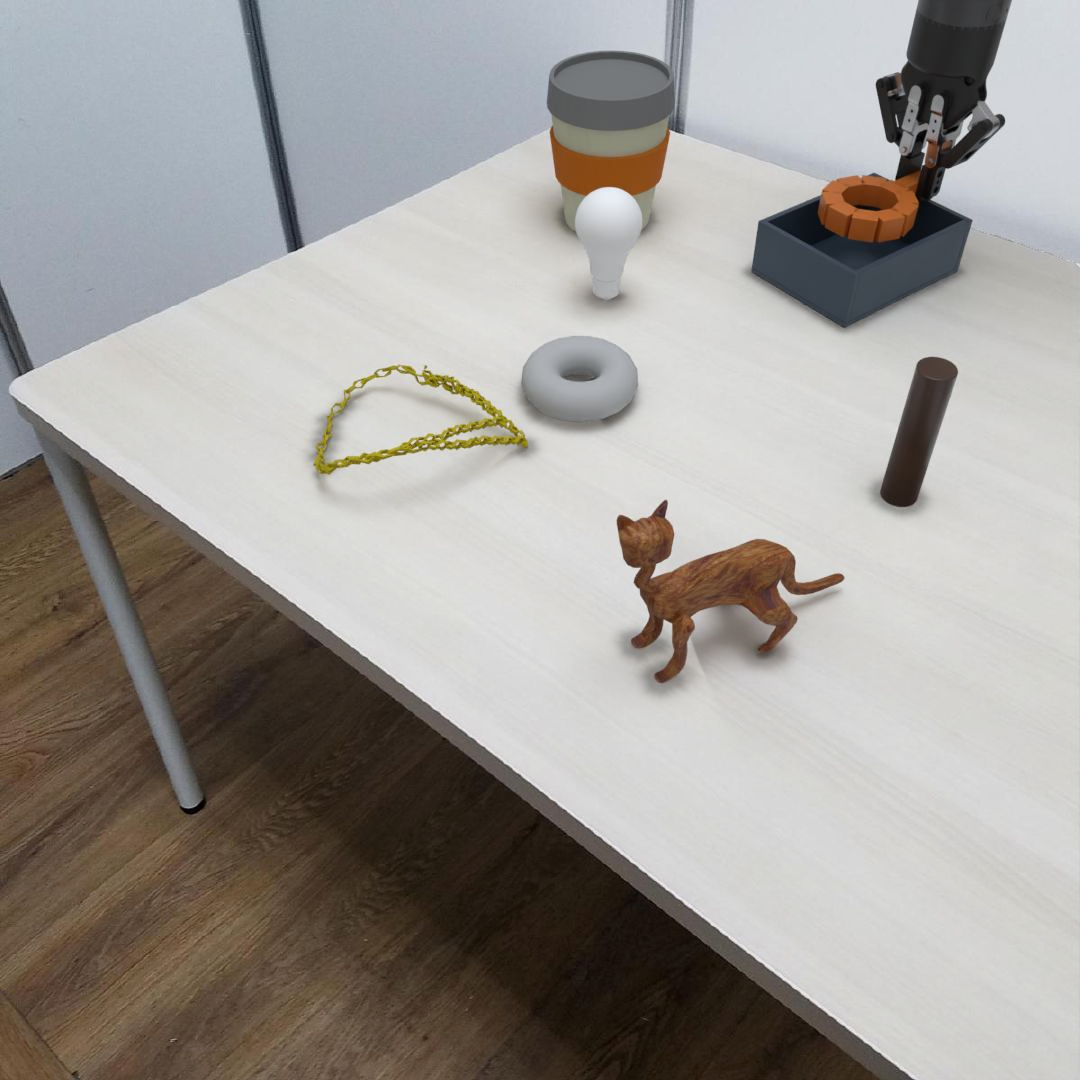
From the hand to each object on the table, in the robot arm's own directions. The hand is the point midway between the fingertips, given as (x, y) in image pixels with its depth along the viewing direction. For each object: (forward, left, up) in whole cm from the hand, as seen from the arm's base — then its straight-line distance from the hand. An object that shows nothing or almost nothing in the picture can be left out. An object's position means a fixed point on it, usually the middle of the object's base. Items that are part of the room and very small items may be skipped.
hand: (914, 194), depth 104 cm
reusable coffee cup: (+27, -13, -6) cm, 31 cm away
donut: (+37, +16, -6) cm, 41 cm away
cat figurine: (+33, +44, -6) cm, 55 cm away
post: (+16, +34, -6) cm, 38 cm away
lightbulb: (+31, +2, -6) cm, 32 cm away
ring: (+4, +2, 0) cm, 5 cm away
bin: (+6, +3, -6) cm, 9 cm away
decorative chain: (+51, +19, -6) cm, 55 cm away
